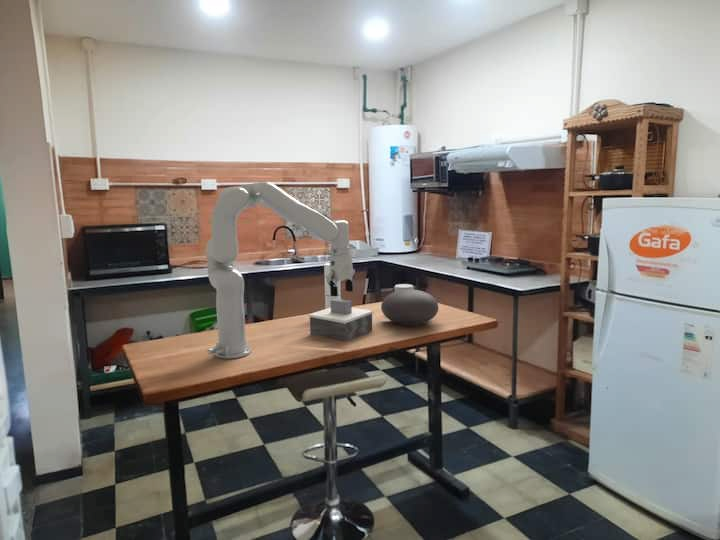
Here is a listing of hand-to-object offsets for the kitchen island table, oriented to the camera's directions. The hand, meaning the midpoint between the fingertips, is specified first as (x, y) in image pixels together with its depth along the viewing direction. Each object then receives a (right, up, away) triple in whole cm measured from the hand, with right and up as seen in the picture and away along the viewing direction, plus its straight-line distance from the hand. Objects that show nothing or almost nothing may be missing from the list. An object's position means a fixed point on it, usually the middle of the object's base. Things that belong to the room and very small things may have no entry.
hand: (341, 293), depth 198 cm
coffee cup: (+29, -10, +41) cm, 51 cm away
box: (0, -17, +2) cm, 17 cm away
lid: (0, -10, +1) cm, 10 cm away
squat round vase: (+29, -14, +17) cm, 36 cm away
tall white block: (-5, -13, +29) cm, 32 cm away
